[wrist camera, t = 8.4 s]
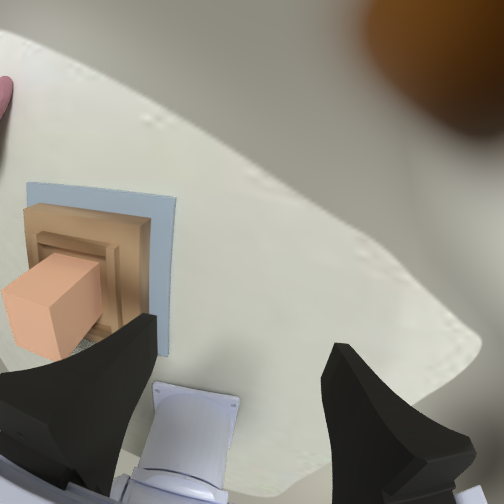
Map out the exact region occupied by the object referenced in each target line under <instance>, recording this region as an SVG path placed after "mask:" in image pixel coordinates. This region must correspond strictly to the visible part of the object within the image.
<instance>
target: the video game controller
mask: <svg viewBox="0 0 504 504" xmlns="http://www.w3.org/2000/svg"><path fill="white" fill-rule="evenodd" d="M12 90H13V81H12V80H11V78H10V77H8V76H2V77H0V120H1V118H2V116H3V114H4V112H5V111H6V108H7V106H8V104H9V102H10V98H11V95H12Z"/></svg>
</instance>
